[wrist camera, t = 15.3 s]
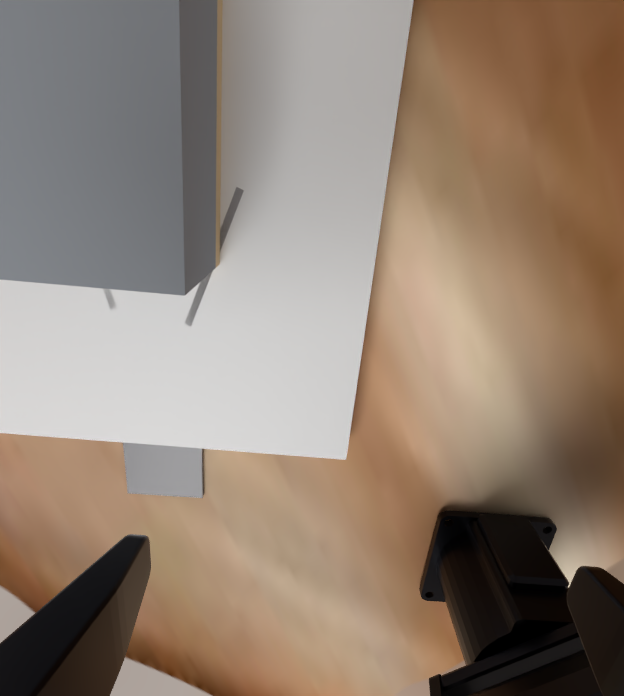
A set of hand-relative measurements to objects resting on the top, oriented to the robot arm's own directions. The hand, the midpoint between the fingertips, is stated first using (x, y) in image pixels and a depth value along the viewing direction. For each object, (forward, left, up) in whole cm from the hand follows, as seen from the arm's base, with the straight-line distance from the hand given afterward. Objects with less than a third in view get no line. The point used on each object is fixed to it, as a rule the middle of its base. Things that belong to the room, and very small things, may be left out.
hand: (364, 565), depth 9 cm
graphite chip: (-7, +8, -13) cm, 17 cm away
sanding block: (+8, +8, -10) cm, 16 cm away
